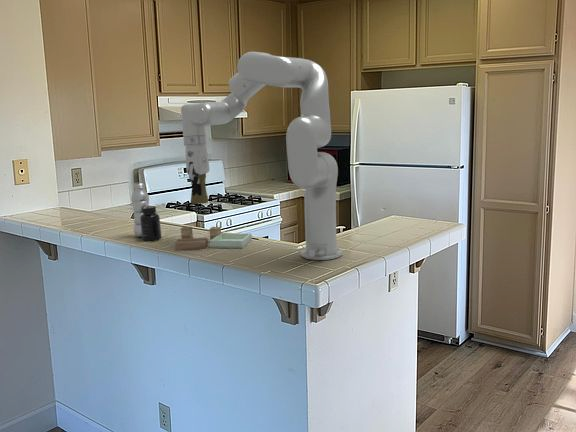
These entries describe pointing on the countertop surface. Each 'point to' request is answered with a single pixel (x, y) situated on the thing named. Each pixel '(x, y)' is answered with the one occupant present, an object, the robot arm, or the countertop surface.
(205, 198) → the cork
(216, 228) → the bench dogs
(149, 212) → the supplement bottle
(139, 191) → the plastic bottle
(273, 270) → the countertop surface
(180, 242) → the wooden block
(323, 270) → the countertop surface
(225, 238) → the tray
